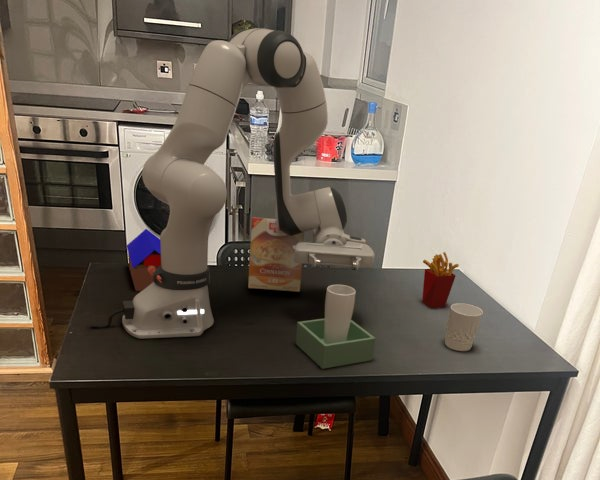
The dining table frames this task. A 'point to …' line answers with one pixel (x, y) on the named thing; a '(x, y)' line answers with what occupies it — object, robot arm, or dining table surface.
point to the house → (143, 258)
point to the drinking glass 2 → (338, 313)
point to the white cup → (462, 326)
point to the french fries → (437, 281)
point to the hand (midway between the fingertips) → (336, 265)
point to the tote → (334, 344)
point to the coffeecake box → (273, 257)
